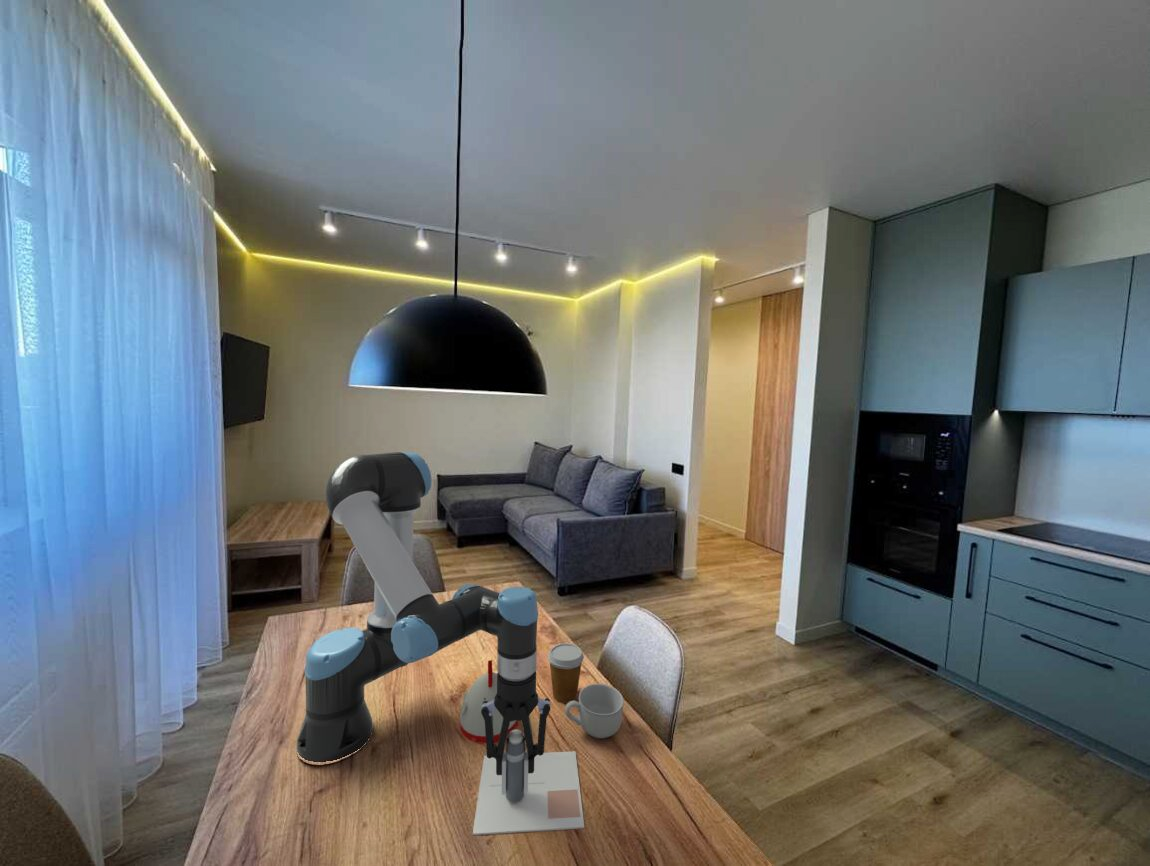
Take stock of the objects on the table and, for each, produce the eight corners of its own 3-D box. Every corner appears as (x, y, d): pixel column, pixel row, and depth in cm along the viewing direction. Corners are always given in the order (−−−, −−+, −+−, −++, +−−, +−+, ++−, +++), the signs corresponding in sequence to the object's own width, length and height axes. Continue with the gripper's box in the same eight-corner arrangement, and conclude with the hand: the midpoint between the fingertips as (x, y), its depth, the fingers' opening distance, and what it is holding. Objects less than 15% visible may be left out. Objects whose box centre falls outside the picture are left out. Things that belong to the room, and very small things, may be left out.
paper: (472, 835, 79) (472, 833, 79) (484, 756, 97) (484, 755, 97) (584, 828, 81) (584, 826, 81) (575, 752, 99) (575, 751, 99)
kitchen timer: (458, 747, 100) (459, 682, 99) (461, 707, 113) (461, 649, 112) (520, 738, 103) (521, 675, 102) (515, 700, 116) (516, 644, 115)
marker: (504, 803, 85) (505, 742, 84) (506, 786, 88) (506, 728, 88) (524, 801, 85) (525, 741, 84) (524, 785, 89) (525, 727, 88)
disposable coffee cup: (579, 709, 113) (580, 664, 112) (542, 704, 115) (543, 659, 114) (585, 687, 122) (586, 644, 122) (552, 682, 124) (552, 640, 124)
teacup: (619, 714, 112) (620, 683, 111) (625, 746, 101) (626, 712, 101) (564, 714, 111) (564, 683, 111) (564, 746, 100) (565, 712, 100)
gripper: (470, 684, 81) (468, 807, 82) (561, 681, 83) (558, 802, 84) (475, 661, 88) (474, 774, 90) (558, 658, 90) (556, 770, 91)
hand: (515, 787), depth 87 cm, fingers closed on marker, 3 cm apart
